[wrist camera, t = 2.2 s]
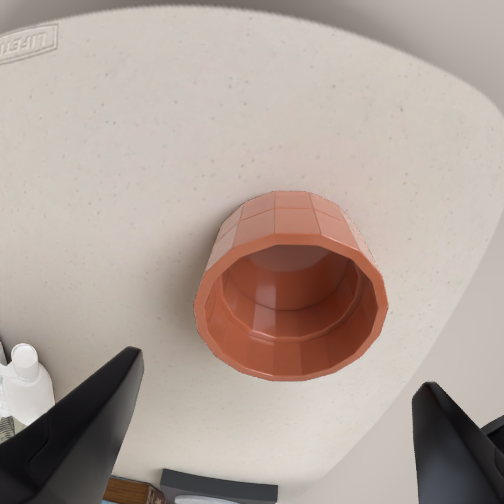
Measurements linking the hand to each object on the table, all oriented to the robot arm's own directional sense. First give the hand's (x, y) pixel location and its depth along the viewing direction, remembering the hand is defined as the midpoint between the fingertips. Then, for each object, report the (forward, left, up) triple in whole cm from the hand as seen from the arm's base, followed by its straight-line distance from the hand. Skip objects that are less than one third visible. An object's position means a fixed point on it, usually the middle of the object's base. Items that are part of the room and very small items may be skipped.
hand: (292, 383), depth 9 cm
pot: (0, 0, -7) cm, 7 cm away
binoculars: (+8, +27, -7) cm, 29 cm away
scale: (-21, +31, -7) cm, 38 cm away
